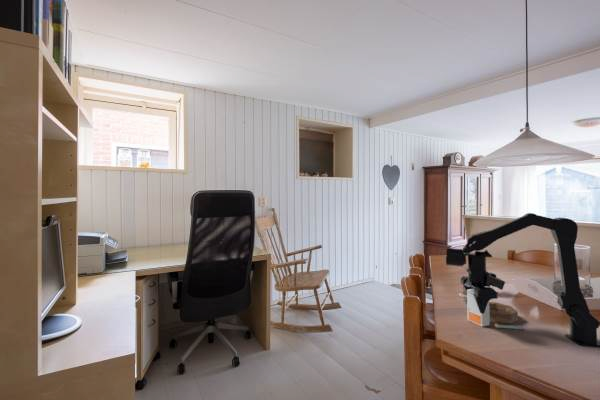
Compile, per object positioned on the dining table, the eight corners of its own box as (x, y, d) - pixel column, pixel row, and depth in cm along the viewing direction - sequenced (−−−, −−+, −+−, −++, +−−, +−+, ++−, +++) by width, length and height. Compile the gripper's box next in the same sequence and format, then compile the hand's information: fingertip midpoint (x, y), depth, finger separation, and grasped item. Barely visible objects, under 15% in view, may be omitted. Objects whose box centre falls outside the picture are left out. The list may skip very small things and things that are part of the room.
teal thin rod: (521, 328, 100) (521, 324, 100) (524, 330, 98) (523, 326, 98) (493, 326, 102) (493, 322, 102) (495, 328, 100) (495, 324, 100)
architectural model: (478, 305, 124) (477, 288, 124) (460, 303, 126) (459, 287, 126) (476, 303, 127) (476, 286, 127) (459, 301, 129) (459, 285, 130)
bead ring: (522, 324, 103) (522, 314, 103) (484, 321, 106) (484, 312, 106) (506, 311, 115) (506, 302, 115) (472, 309, 118) (472, 301, 118)
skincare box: (467, 320, 107) (466, 289, 107) (475, 319, 108) (474, 288, 109) (482, 327, 101) (481, 294, 101) (490, 325, 103) (489, 292, 103)
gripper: (514, 275, 94) (515, 321, 94) (490, 263, 112) (491, 302, 112) (477, 273, 97) (478, 319, 96) (459, 262, 115) (460, 300, 115)
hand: (478, 309), depth 105 cm, fingers closed on skincare box, 7 cm apart
